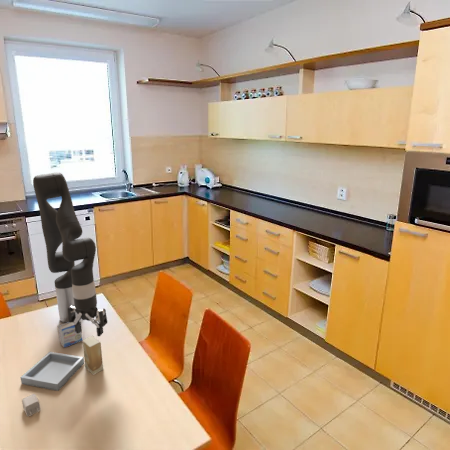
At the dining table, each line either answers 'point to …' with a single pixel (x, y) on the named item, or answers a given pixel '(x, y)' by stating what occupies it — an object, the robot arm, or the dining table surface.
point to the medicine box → (69, 334)
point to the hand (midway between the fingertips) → (89, 333)
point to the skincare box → (92, 354)
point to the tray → (52, 371)
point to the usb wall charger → (31, 405)
